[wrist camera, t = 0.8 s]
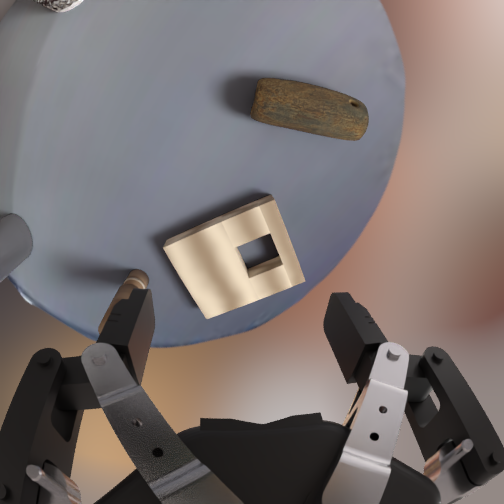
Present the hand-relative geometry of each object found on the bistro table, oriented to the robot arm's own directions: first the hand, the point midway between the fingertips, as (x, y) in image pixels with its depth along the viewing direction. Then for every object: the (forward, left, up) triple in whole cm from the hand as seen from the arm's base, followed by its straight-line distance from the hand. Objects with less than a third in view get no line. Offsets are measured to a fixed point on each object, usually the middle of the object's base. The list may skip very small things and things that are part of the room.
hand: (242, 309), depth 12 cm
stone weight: (+13, +6, -30) cm, 33 cm away
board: (-4, -11, -29) cm, 32 cm away
